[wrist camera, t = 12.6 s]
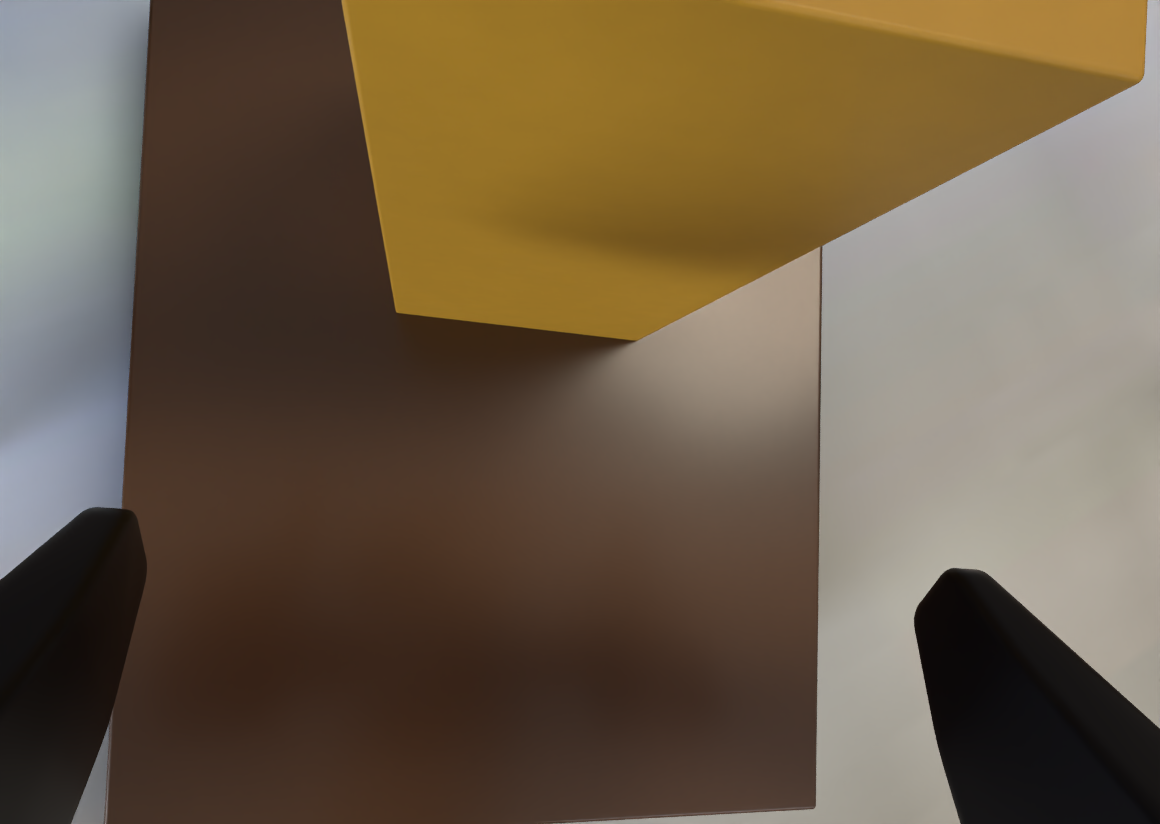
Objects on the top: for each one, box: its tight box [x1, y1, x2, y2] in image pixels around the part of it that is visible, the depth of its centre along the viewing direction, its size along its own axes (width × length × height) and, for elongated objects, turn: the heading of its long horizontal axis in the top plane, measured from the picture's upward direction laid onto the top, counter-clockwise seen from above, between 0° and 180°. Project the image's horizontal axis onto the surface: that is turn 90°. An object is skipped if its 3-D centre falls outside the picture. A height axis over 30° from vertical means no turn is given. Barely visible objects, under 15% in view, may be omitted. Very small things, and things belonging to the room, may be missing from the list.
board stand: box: [104, 0, 822, 824], centre depth 19 cm, size 18×14×4 cm
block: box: [341, 0, 1147, 341], centre depth 11 cm, size 5×5×12 cm
